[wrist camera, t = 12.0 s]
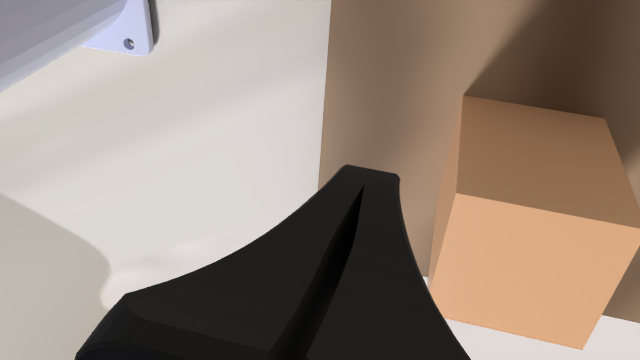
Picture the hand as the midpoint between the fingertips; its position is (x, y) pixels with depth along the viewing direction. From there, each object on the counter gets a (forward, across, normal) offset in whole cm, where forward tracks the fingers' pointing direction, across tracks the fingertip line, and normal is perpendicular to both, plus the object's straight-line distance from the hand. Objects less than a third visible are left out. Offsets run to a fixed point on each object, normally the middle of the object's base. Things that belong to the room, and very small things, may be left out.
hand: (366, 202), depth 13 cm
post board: (+10, -5, +4) cm, 12 cm away
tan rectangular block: (+9, -5, +4) cm, 11 cm away
